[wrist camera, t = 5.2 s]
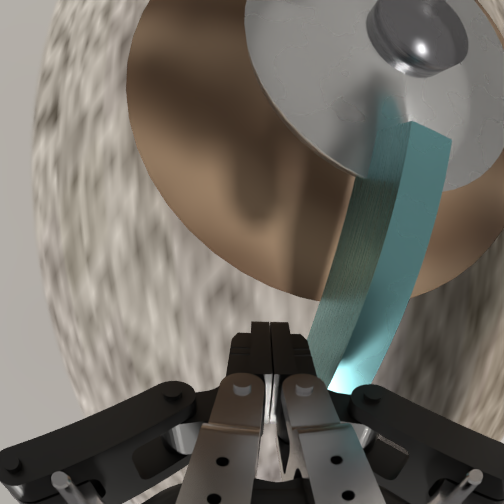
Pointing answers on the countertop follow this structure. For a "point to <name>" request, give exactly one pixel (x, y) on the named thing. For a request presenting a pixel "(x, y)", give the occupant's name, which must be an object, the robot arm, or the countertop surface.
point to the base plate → (263, 159)
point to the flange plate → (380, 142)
